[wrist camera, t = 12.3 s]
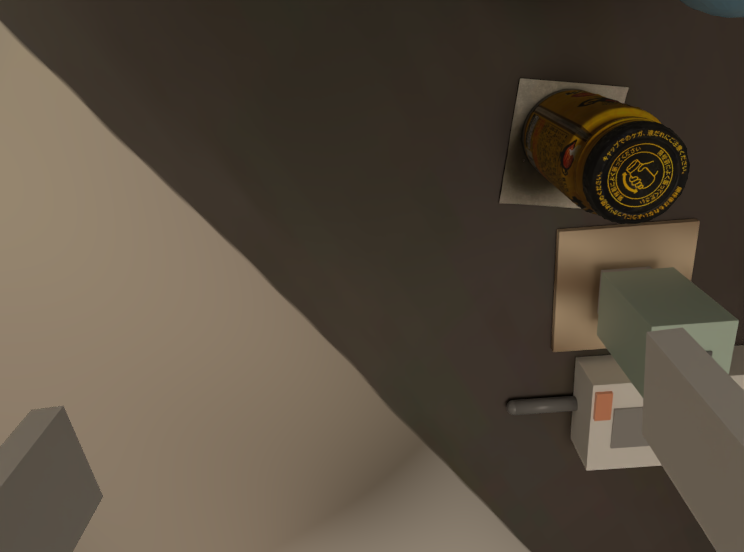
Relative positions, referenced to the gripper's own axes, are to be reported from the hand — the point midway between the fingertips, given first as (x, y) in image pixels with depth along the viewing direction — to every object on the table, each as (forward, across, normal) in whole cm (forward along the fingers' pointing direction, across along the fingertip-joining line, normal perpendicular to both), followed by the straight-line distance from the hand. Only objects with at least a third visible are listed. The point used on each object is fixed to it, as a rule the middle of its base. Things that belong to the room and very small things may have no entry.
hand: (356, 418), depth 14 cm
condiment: (+30, +13, -2) cm, 33 cm away
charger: (+29, +17, -14) cm, 37 cm away
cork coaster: (+30, +17, -14) cm, 37 cm away
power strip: (+30, +21, -24) cm, 44 cm away
